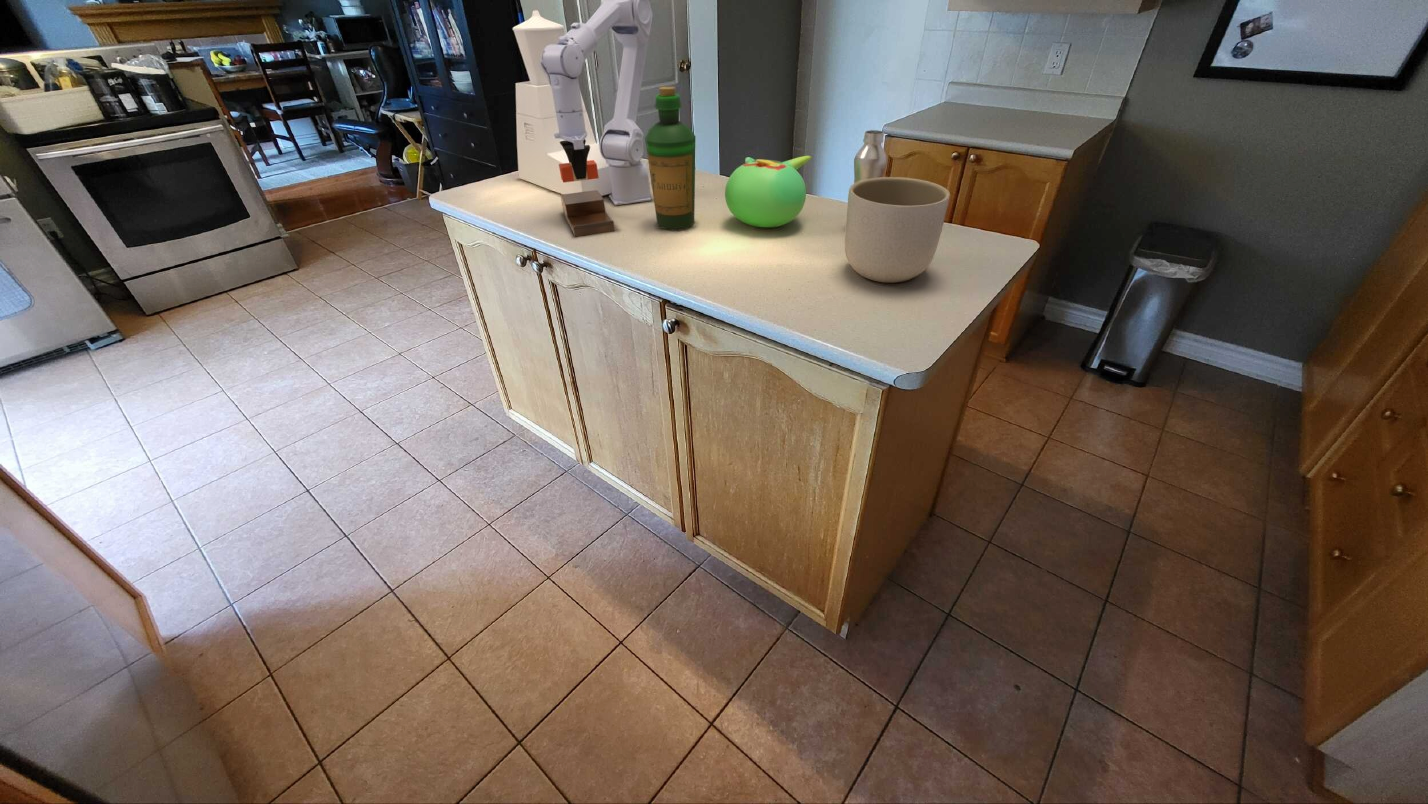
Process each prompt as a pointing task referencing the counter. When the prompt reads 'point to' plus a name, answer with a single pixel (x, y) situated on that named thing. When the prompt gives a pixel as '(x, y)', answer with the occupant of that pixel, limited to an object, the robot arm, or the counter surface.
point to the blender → (547, 118)
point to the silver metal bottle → (870, 157)
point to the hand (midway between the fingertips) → (579, 176)
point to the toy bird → (766, 191)
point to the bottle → (671, 164)
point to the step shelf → (586, 213)
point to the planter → (893, 226)
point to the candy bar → (569, 175)
